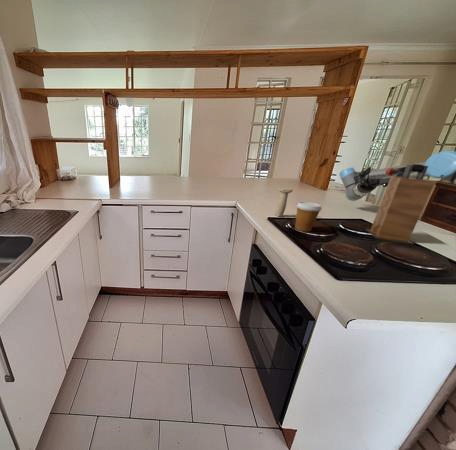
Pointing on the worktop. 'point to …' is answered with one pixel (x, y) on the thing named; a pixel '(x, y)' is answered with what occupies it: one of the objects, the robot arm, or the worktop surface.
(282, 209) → the mushroom
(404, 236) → the lever post
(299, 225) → the disposable coffee cup
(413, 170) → the lever
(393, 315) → the worktop surface
